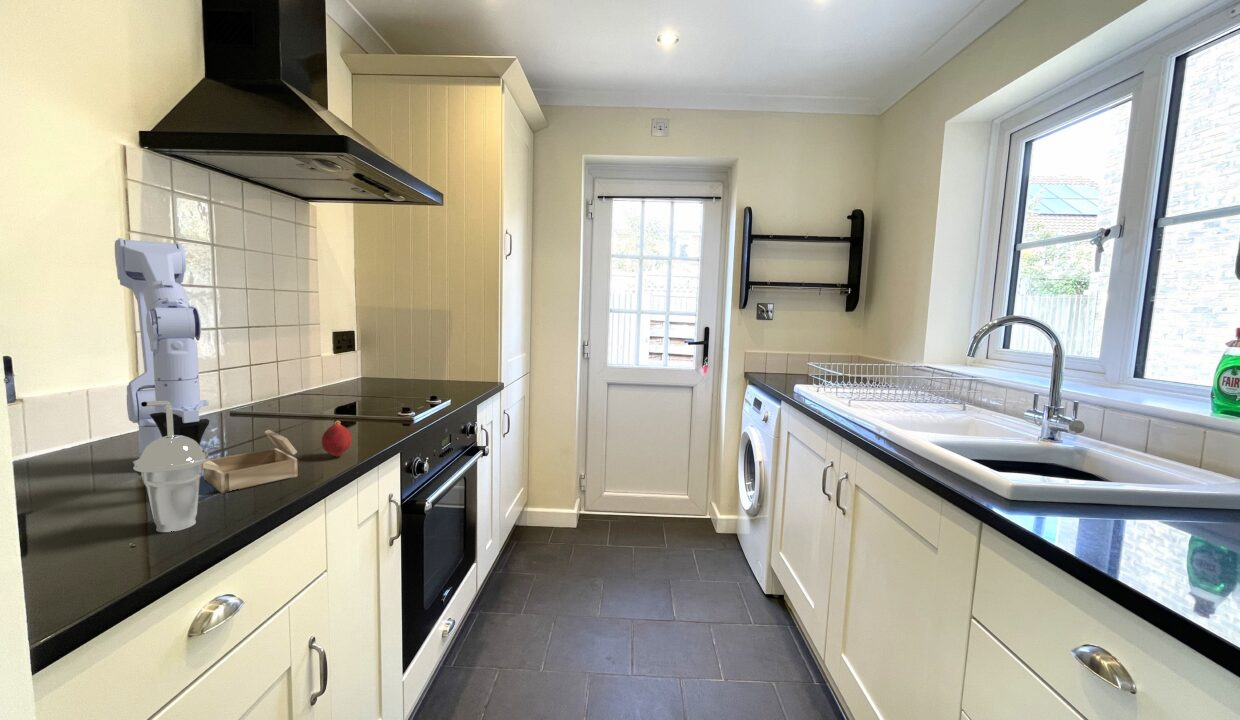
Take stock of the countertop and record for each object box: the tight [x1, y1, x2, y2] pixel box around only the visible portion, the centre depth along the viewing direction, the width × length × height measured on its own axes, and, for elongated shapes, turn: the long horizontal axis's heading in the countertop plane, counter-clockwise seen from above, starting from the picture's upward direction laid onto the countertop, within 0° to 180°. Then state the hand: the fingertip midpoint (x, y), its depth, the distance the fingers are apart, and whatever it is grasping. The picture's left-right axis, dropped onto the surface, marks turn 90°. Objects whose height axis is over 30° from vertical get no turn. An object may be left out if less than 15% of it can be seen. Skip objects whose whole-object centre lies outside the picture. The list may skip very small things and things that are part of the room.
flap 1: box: [203, 459, 219, 471], centre depth 90 cm, size 9×4×1 cm, turn 53°
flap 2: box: [264, 429, 298, 456], centre depth 100 cm, size 9×4×1 cm
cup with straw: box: [132, 401, 211, 533], centre depth 75 cm, size 8×9×20 cm
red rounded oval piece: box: [321, 420, 353, 458], centre depth 111 cm, size 6×6×8 cm
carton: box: [202, 447, 299, 494], centre depth 97 cm, size 11×12×4 cm
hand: (181, 456), depth 88 cm, fingers open, 7 cm apart
